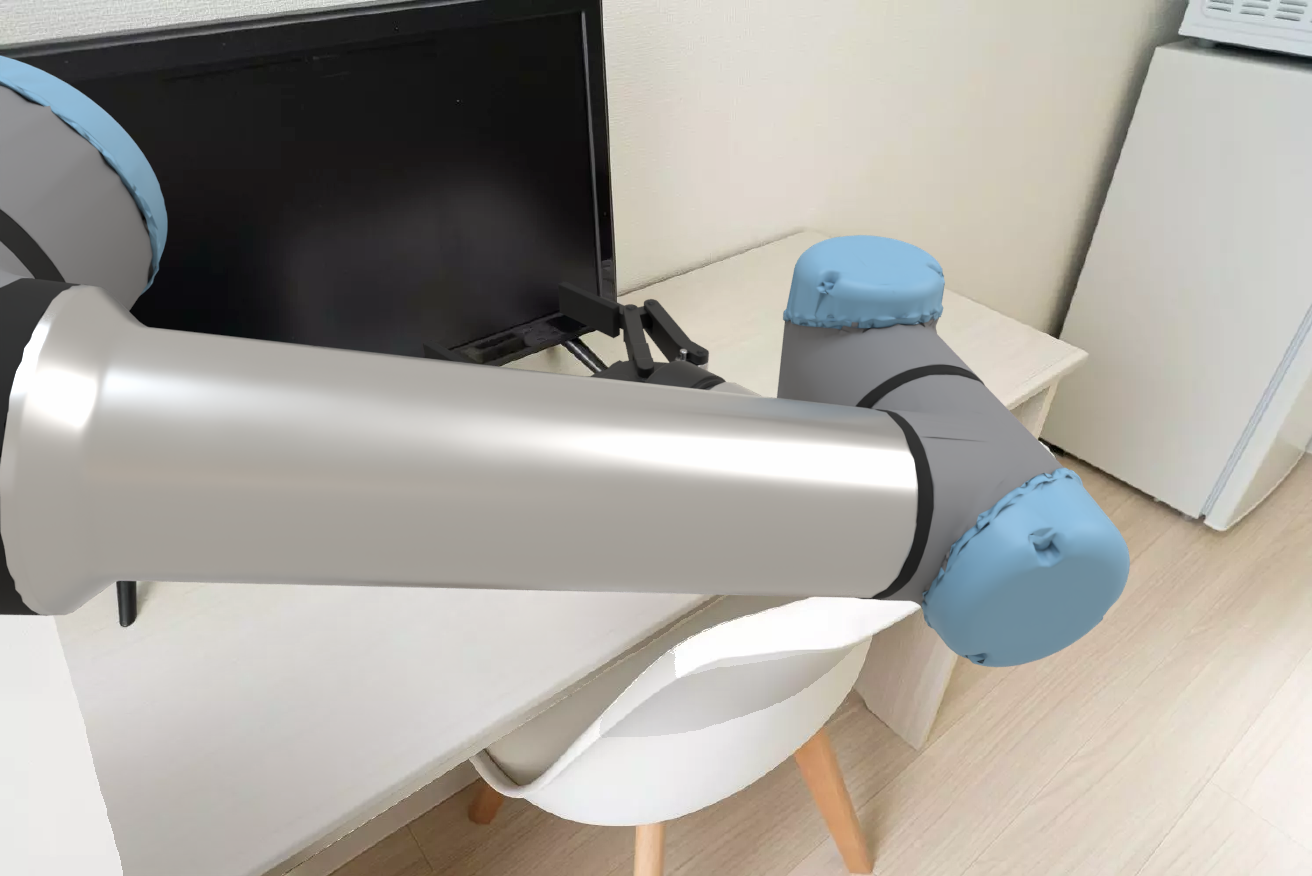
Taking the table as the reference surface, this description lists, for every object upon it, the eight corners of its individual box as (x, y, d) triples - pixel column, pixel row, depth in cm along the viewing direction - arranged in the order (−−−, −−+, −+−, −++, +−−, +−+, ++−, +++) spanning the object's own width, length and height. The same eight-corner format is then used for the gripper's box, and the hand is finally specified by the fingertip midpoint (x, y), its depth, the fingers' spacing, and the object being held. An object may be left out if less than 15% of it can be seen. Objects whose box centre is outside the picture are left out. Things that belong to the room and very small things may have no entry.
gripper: (569, 570, 49) (373, 429, 61) (801, 400, 64) (609, 313, 75) (562, 474, 45) (352, 341, 56) (813, 316, 60) (607, 236, 71)
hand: (499, 325), depth 66 cm, fingers open, 13 cm apart
